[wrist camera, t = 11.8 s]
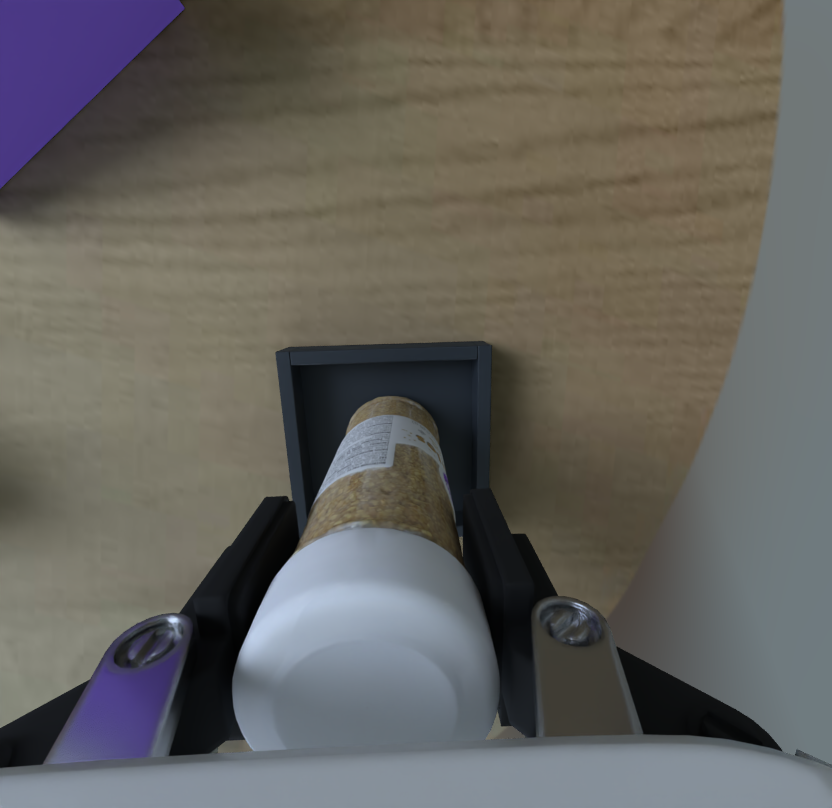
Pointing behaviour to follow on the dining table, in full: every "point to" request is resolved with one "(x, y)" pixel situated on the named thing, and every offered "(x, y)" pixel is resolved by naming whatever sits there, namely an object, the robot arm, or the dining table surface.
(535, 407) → the dining table surface
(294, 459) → the dark grey square tray
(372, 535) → the sprinkles bottle
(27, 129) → the bracket
